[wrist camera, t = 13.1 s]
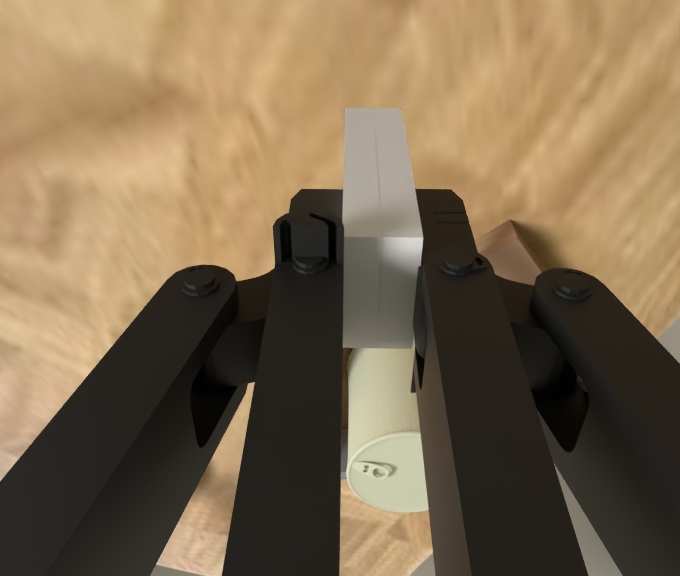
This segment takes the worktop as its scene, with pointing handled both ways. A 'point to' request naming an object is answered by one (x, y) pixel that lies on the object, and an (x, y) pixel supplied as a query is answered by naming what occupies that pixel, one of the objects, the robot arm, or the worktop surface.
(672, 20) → the worktop surface
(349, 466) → the can
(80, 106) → the worktop surface
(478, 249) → the bar
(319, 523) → the robot arm
